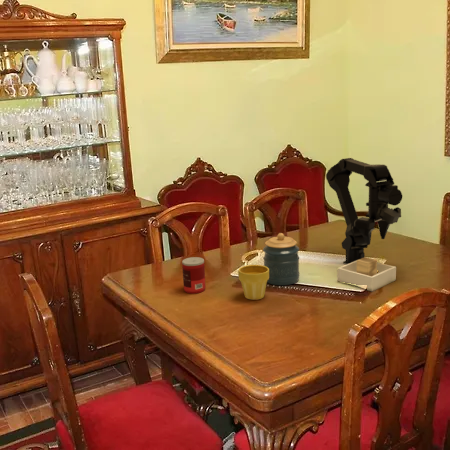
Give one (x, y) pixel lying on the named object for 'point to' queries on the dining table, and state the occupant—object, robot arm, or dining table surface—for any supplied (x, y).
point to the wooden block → (367, 266)
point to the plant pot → (254, 280)
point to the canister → (282, 260)
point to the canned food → (193, 275)
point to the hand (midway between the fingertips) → (375, 241)
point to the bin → (380, 279)
